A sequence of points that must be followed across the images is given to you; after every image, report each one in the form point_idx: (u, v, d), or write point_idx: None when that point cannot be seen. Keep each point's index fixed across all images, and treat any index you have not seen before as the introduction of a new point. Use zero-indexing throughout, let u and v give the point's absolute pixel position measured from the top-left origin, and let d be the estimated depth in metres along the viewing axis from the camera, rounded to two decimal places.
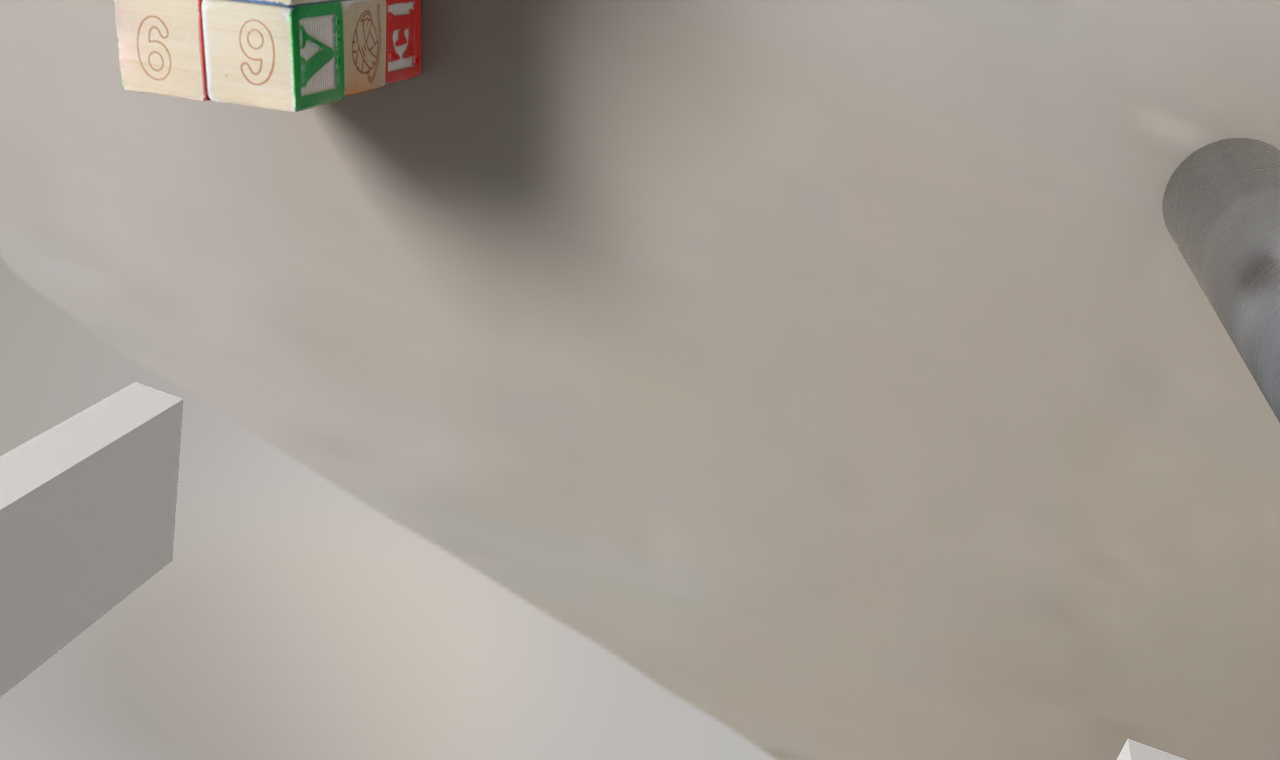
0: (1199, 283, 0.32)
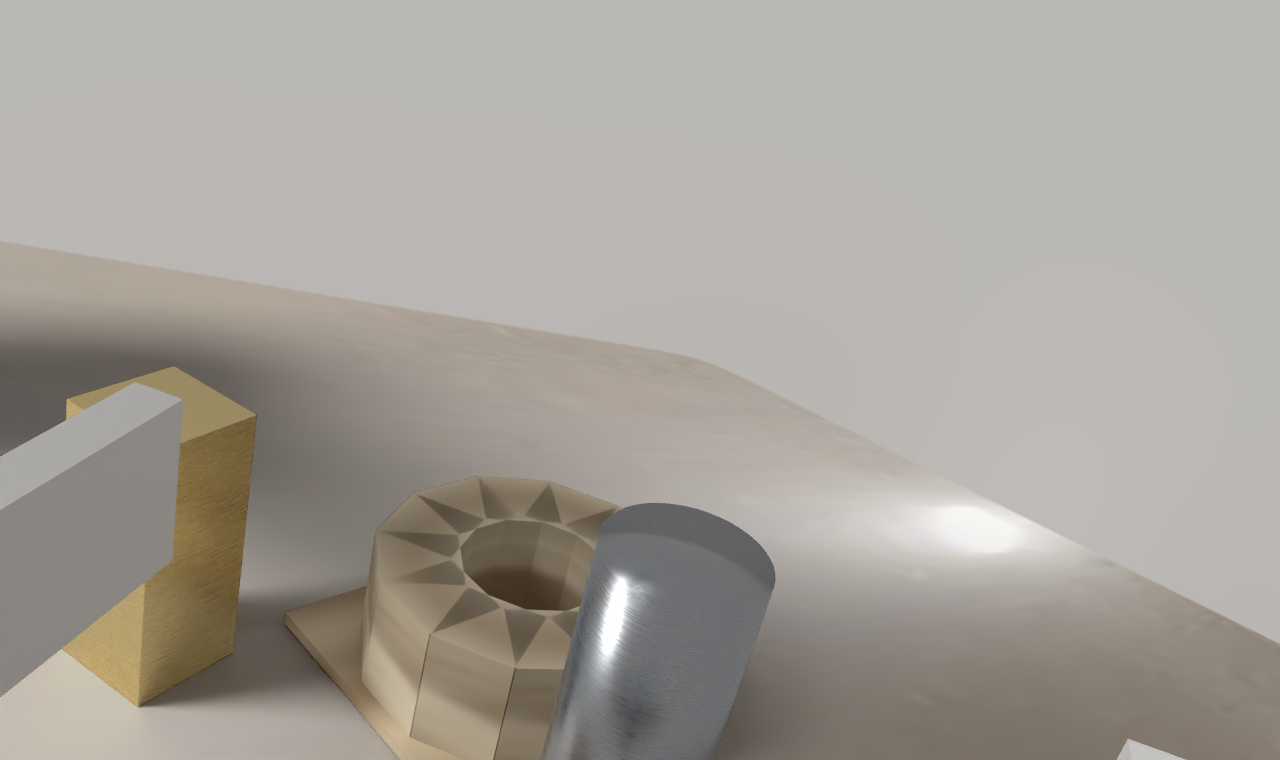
0: None
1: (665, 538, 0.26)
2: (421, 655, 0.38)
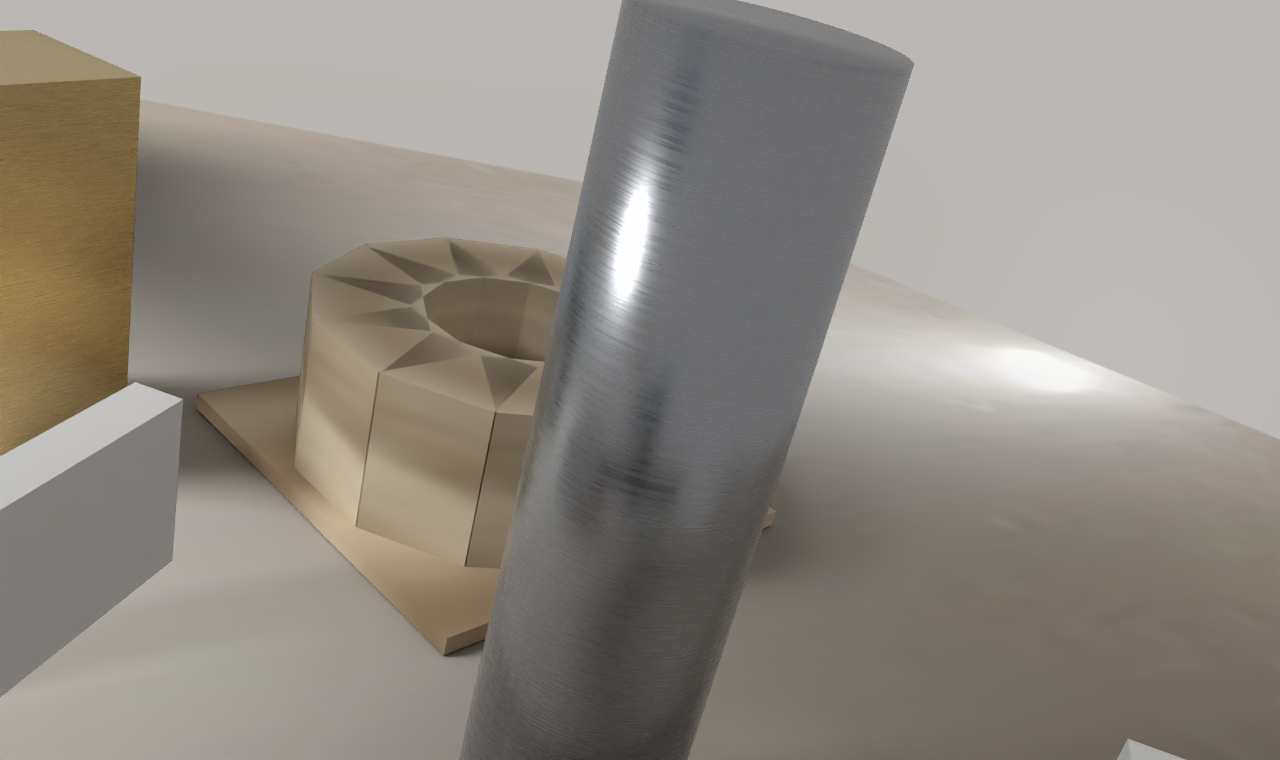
0: (602, 676, 0.18)
1: (730, 11, 0.16)
2: (368, 406, 0.28)
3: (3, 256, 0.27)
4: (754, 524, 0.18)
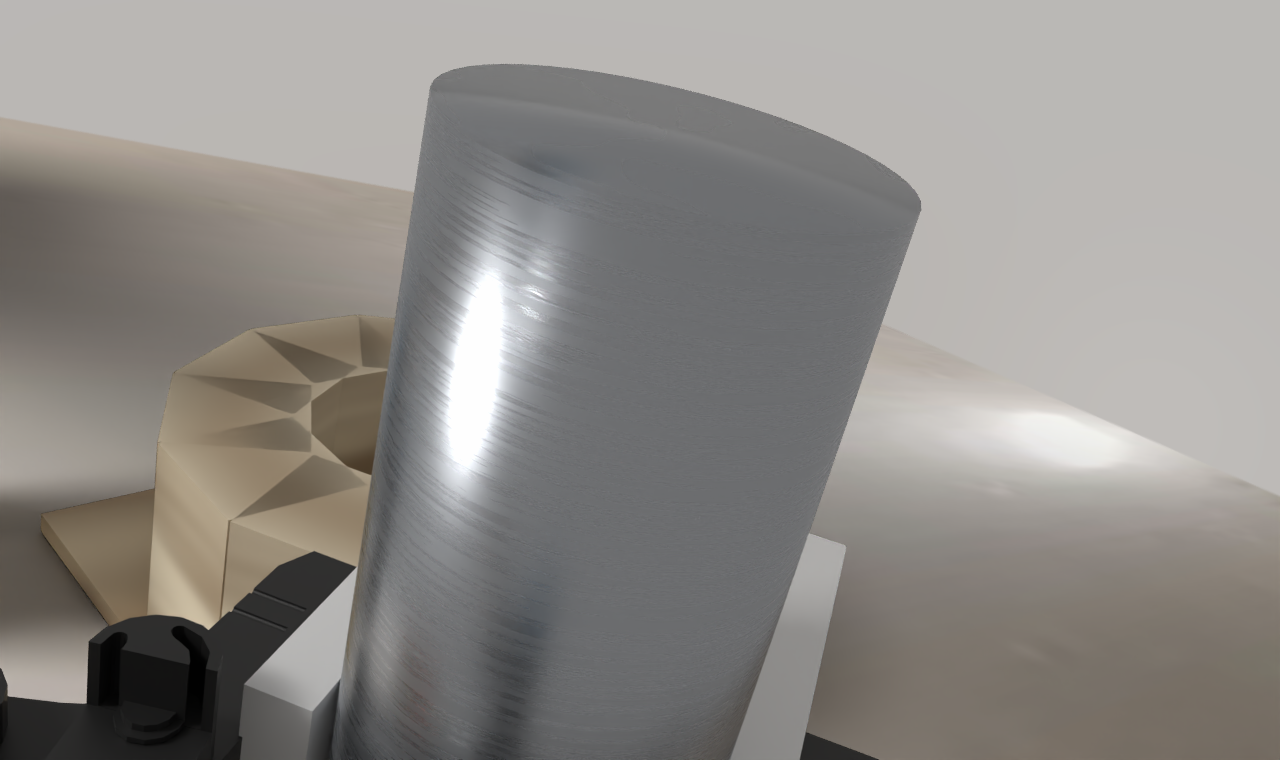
0: None
1: (620, 109, 0.10)
2: (219, 560, 0.22)
3: None
4: None
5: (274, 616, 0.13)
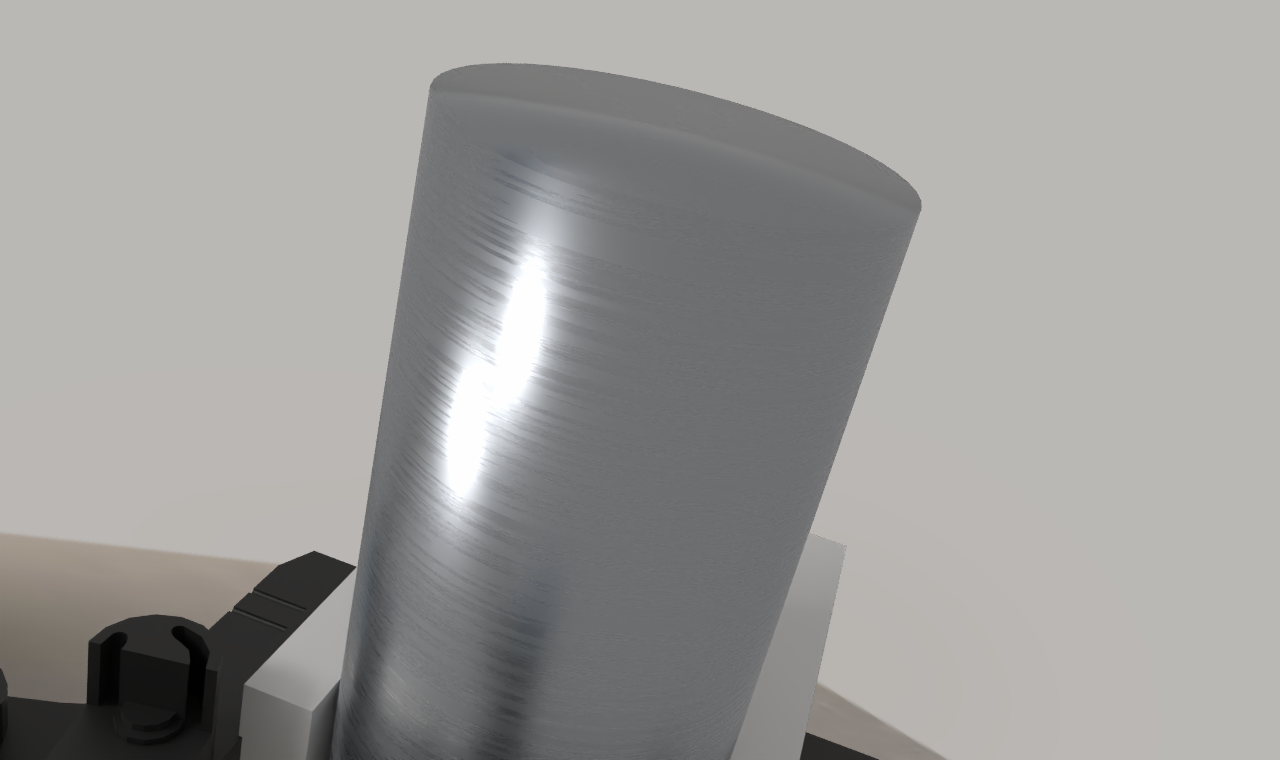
0: None
1: (620, 109, 0.10)
2: None
3: None
4: None
5: (274, 616, 0.13)
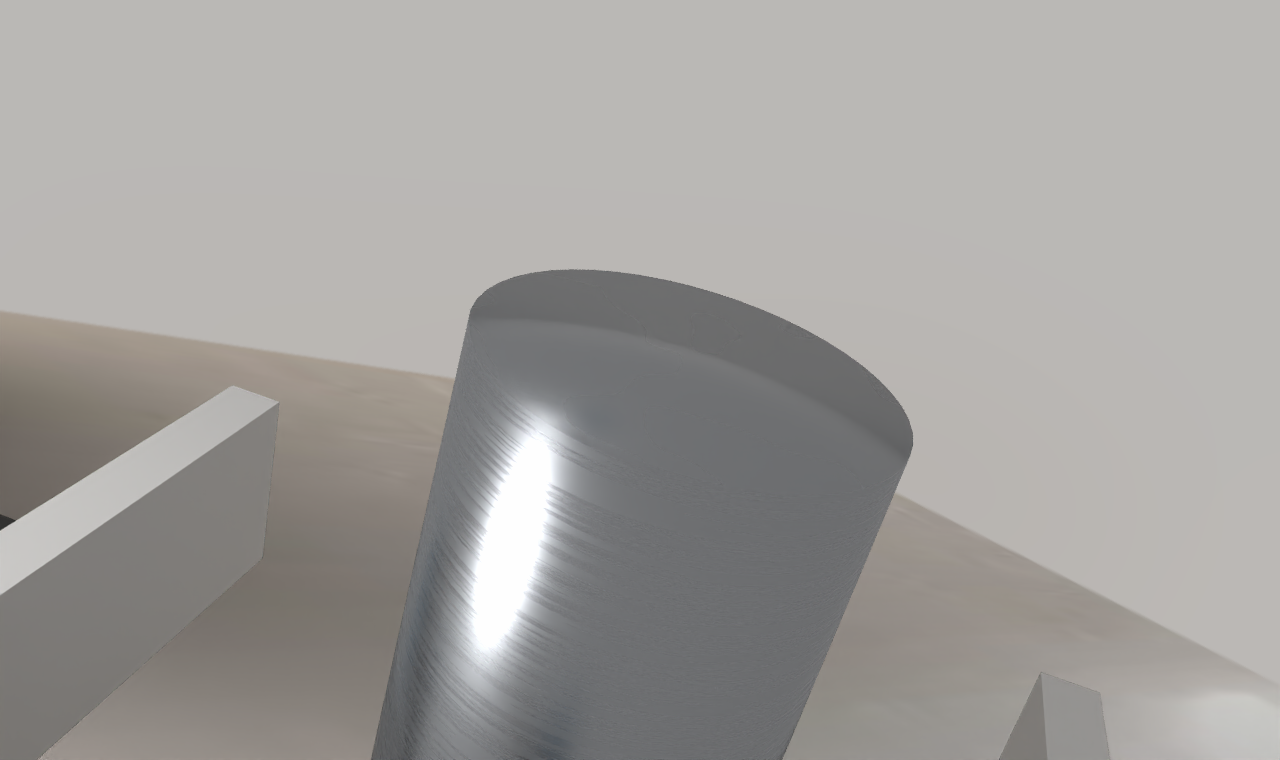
0: None
1: (640, 330, 0.11)
2: None
3: None
4: None
5: None
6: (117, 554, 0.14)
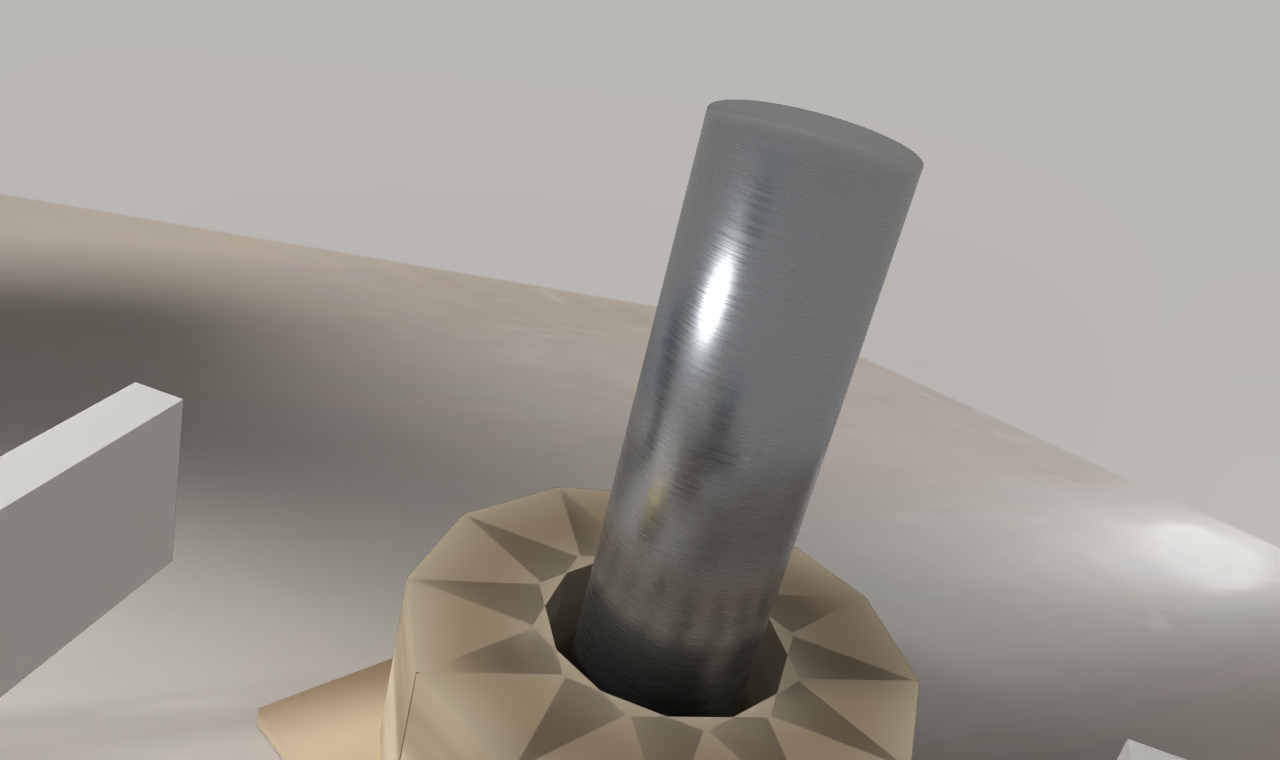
0: (681, 624, 0.23)
1: (785, 121, 0.21)
2: None
3: None
4: (800, 508, 0.23)
5: None
6: None
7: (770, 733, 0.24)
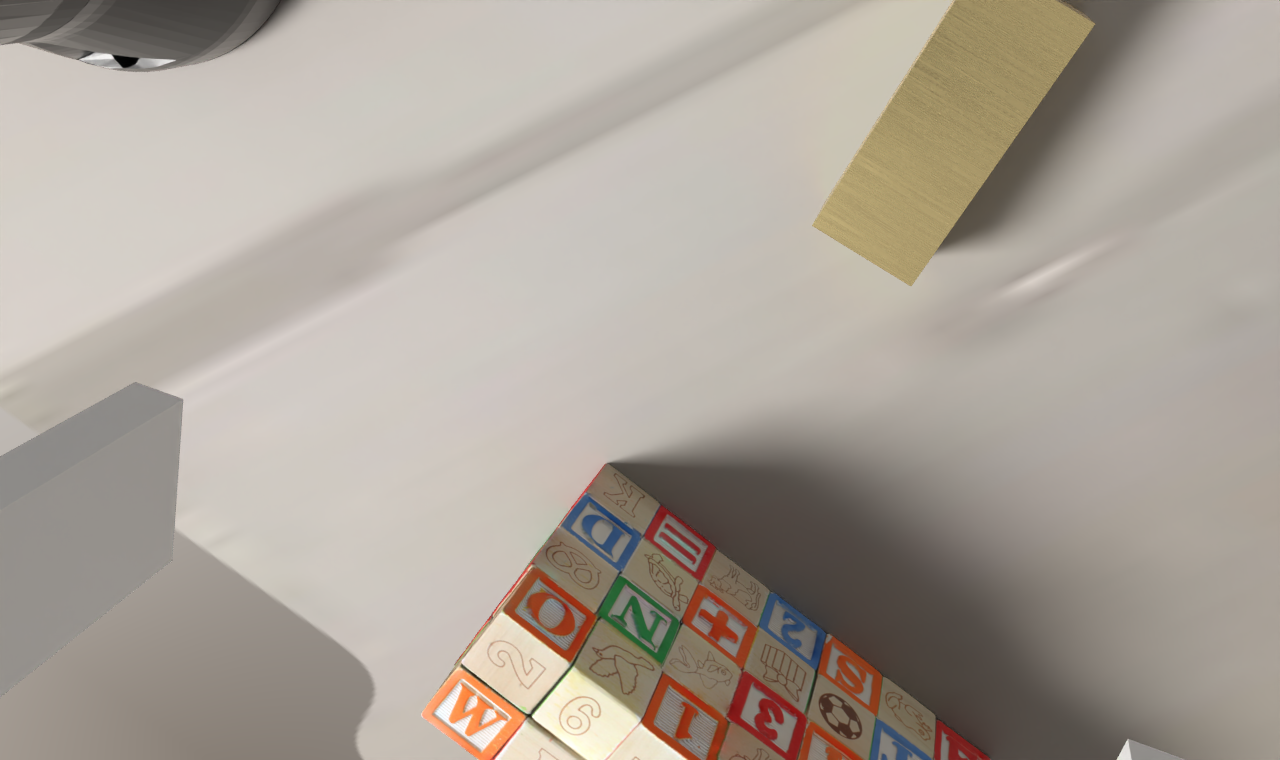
0: None
1: None
2: None
3: None
4: None
5: None
6: None
7: None
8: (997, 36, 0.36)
